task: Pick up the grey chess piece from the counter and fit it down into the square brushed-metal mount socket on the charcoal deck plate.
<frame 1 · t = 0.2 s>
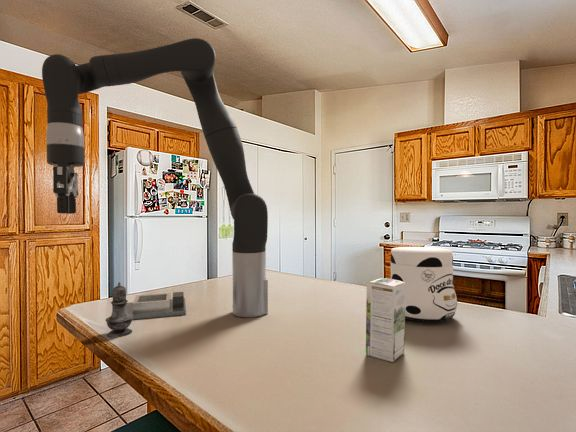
hand: (67, 213, 80), 28 cm above the kitchen counter, tool pointing down, fingers open, 8 cm apart
grey chess piece: (119, 334, 79), on the kitchen counter
syrup box: (385, 355, 67), on the kitchen counter
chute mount: (152, 310, 97), on the kitchen counter
milk container: (420, 317, 91), on the kitchen counter
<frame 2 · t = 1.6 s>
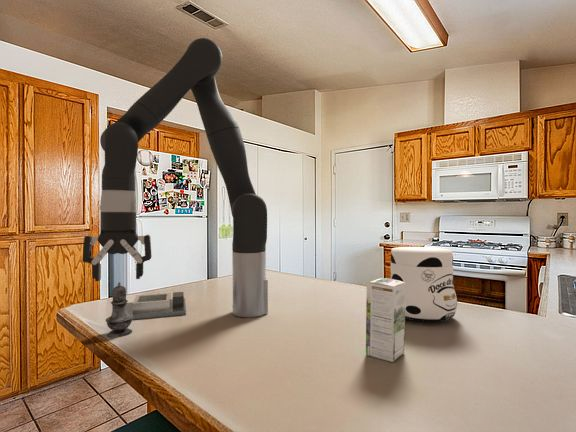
hand: (118, 279, 79), 13 cm above the kitchen counter, tool pointing down, fingers open, 8 cm apart
nothing on the kitchen counter moved.
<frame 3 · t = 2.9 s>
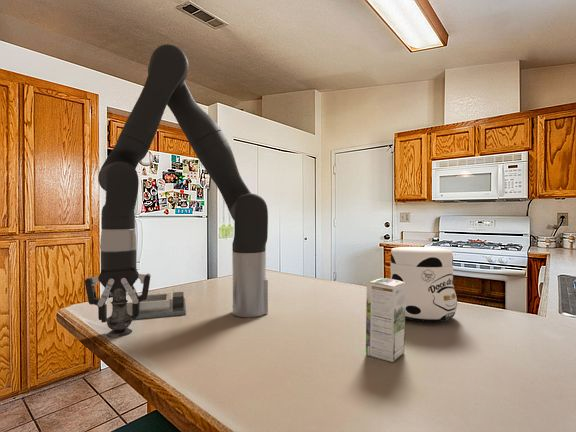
hand: (119, 319, 79), 3 cm above the kitchen counter, tool pointing down, fingers closed on grey chess piece, 6 cm apart
grey chess piece: (119, 334, 79), on the kitchen counter, touching gripper
everything else where it was.
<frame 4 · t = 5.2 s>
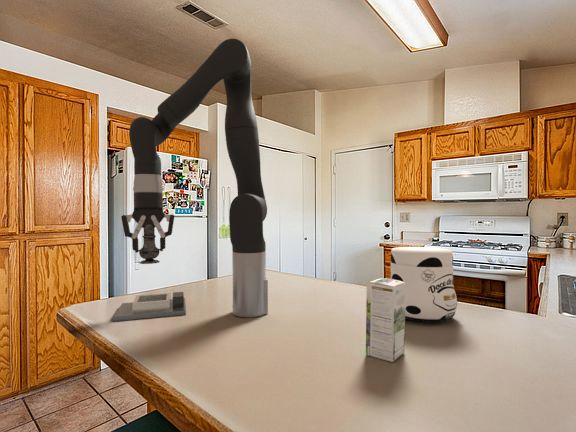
hand: (149, 251, 95), 17 cm above the kitchen counter, tool pointing down, fingers closed on grey chess piece, 6 cm apart
grey chess piece: (149, 263, 95), point 14 cm above the kitchen counter, touching gripper
everything else where it was.
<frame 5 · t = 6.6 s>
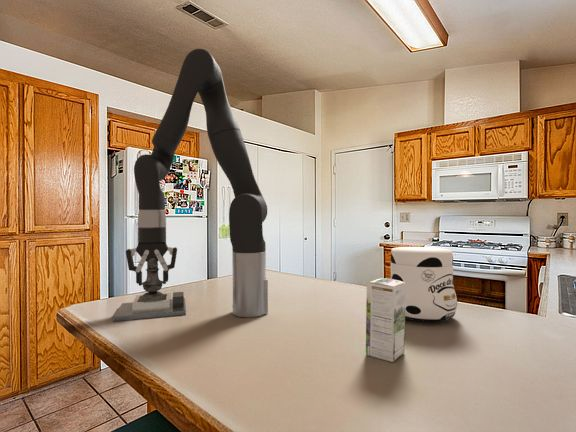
hand: (152, 284, 97), 8 cm above the kitchen counter, tool pointing down, fingers closed on grey chess piece, 6 cm apart
grey chess piece: (152, 295, 97), point 4 cm above the kitchen counter, touching gripper
everything else where it was.
when the fingers open (5 cm above the kitchen counter, at t = 7.6 s): grey chess piece stays where it is, resting on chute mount.
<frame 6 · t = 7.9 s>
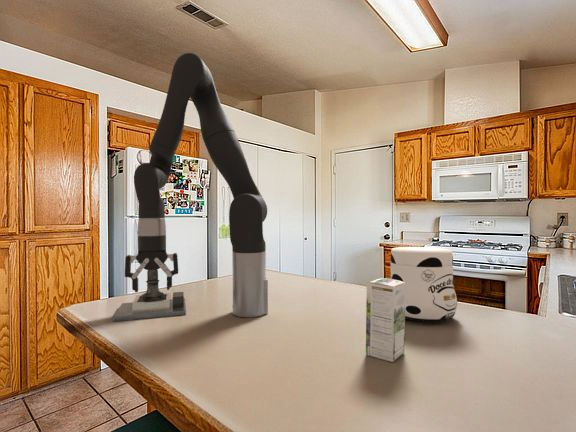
hand: (152, 290, 97), 6 cm above the kitchen counter, tool pointing down, fingers open, 8 cm apart
grey chess piece: (153, 307, 97), point 1 cm above the kitchen counter, touching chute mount
everything else where it was.
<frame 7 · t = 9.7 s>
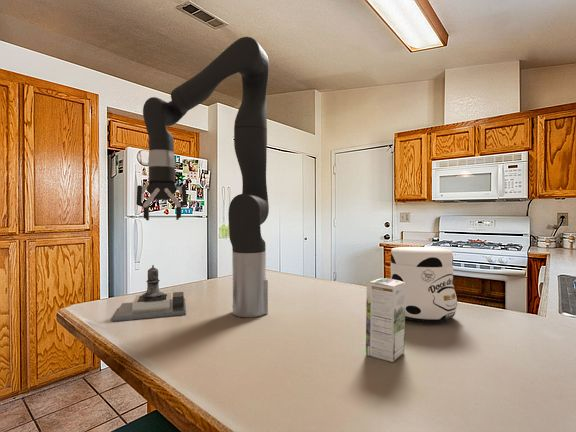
hand: (162, 220, 103), 26 cm above the kitchen counter, tool pointing down, fingers open, 8 cm apart
nothing on the kitchen counter moved.
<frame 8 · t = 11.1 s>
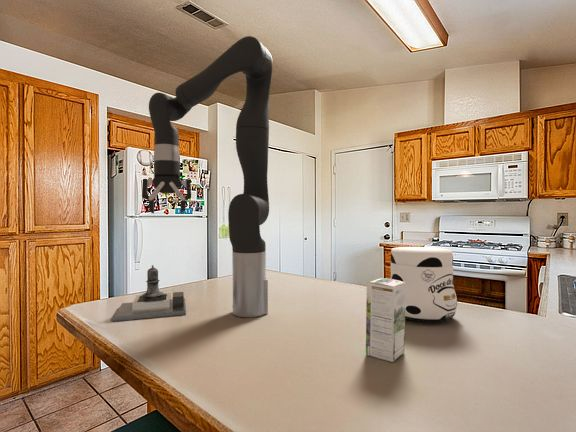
hand: (167, 213, 105), 28 cm above the kitchen counter, tool pointing down, fingers open, 8 cm apart
nothing on the kitchen counter moved.
at the end: grey chess piece 0.1 cm off-centre on the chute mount, point 1.0 cm above the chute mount's base; grey chess piece tilted 0°; the gripper is holding nothing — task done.
